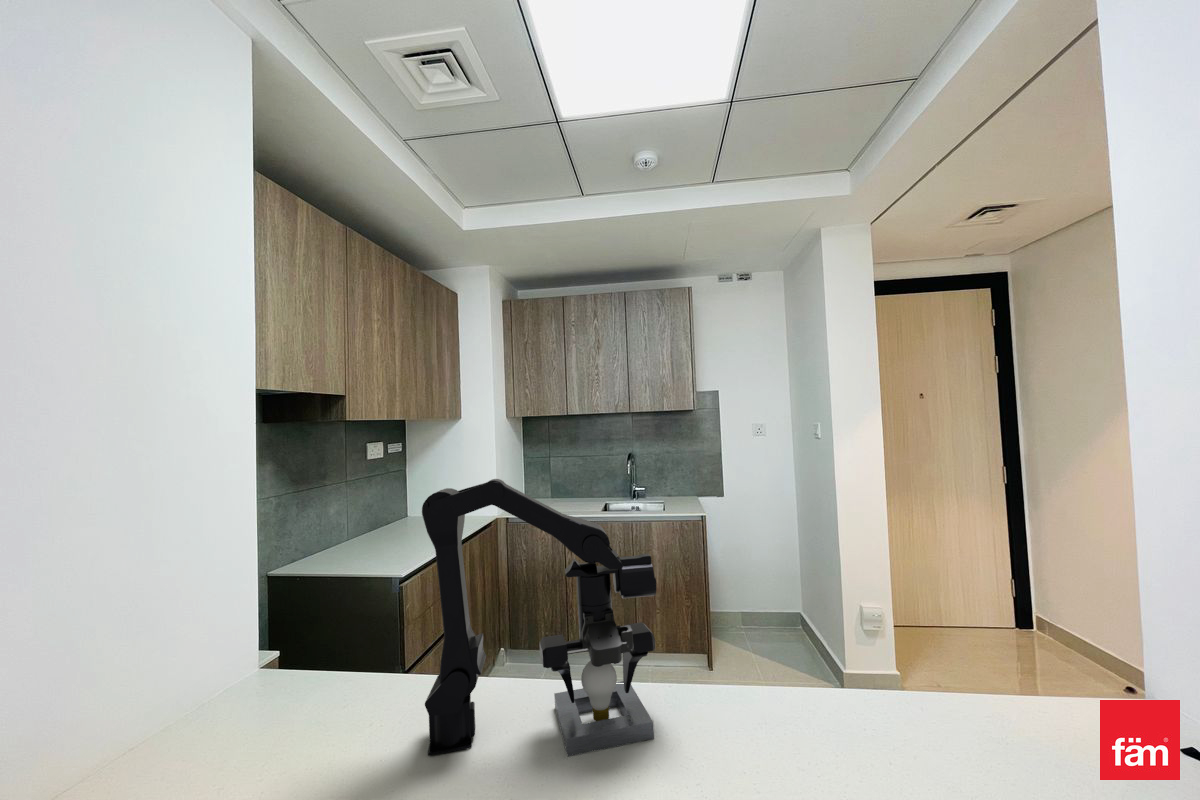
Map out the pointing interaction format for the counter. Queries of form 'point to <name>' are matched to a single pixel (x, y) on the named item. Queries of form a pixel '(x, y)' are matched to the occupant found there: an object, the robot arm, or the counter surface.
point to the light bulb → (599, 688)
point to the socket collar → (602, 722)
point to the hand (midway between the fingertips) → (599, 697)
